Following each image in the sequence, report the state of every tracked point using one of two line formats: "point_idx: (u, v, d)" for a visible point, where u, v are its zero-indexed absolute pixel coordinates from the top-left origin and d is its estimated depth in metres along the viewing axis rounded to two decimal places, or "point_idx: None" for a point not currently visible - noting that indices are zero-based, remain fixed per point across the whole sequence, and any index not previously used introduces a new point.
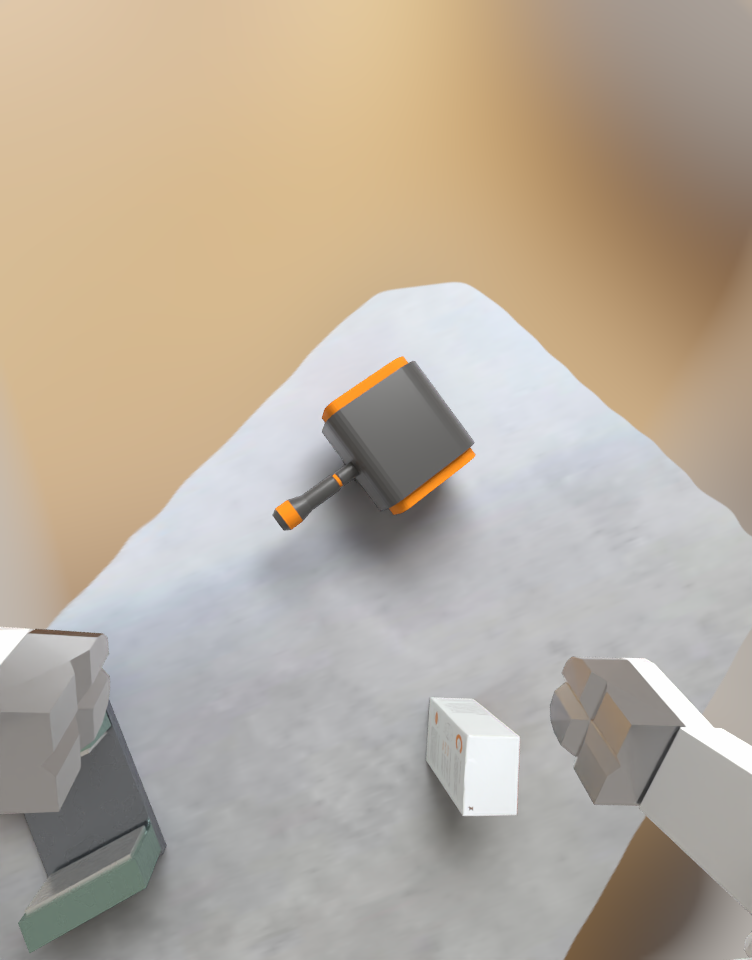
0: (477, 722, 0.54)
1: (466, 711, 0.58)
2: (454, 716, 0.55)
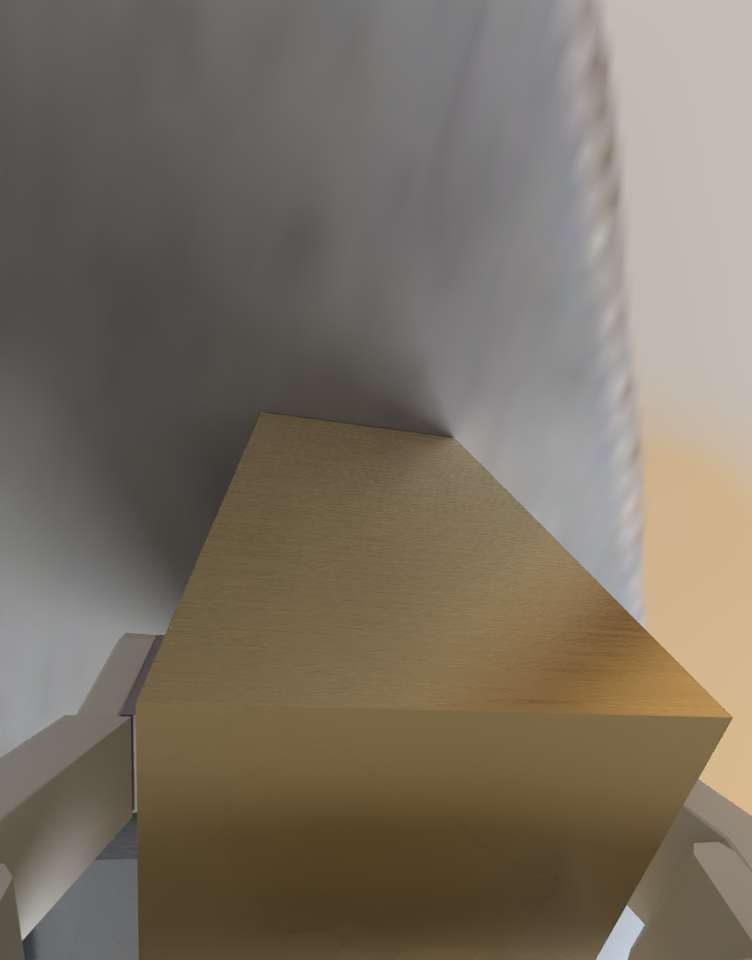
0: None
1: None
2: None
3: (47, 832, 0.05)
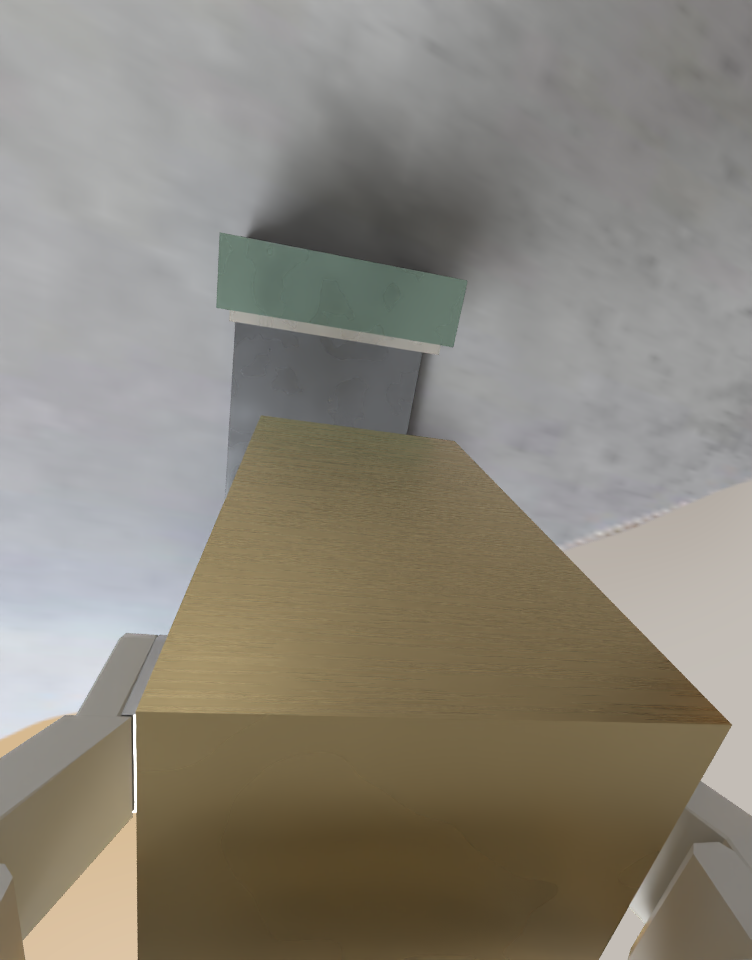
0: None
1: None
2: None
3: (47, 832, 0.05)
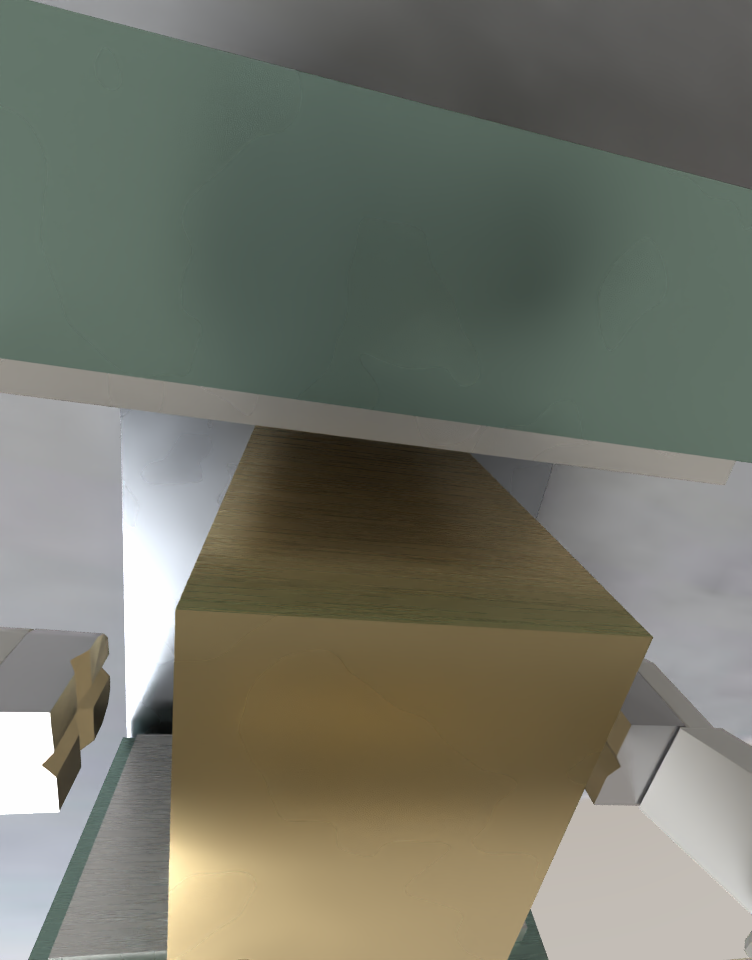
0: None
1: None
2: None
3: None
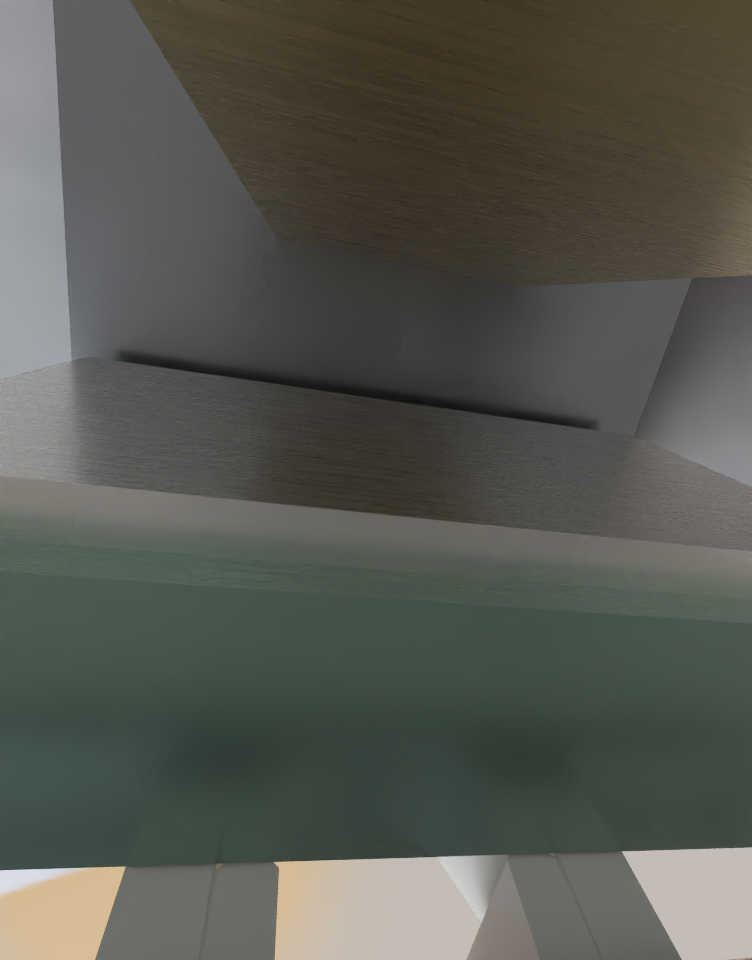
0: None
1: None
2: None
3: None
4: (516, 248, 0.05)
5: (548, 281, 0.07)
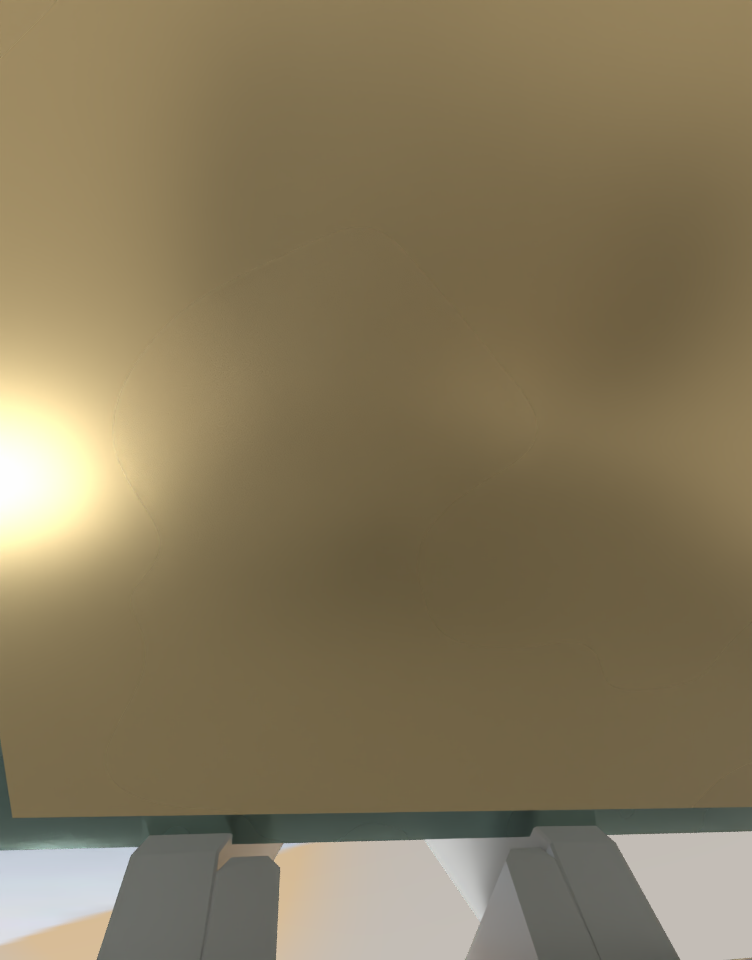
0: None
1: None
2: None
3: None
4: None
5: None
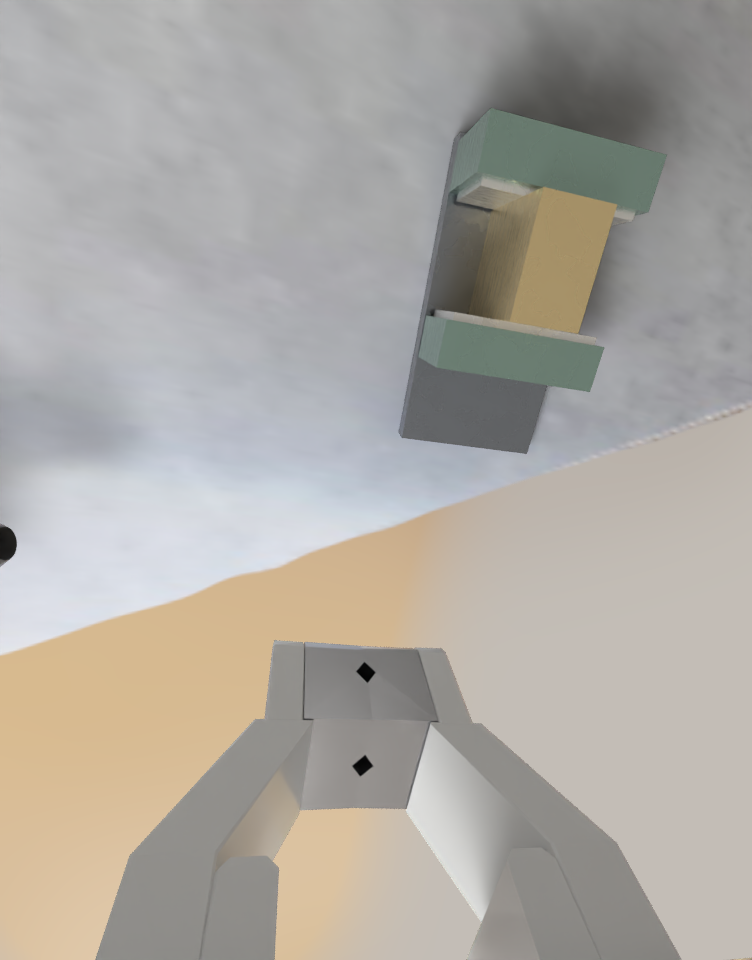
0: None
1: None
2: None
3: (261, 828, 0.05)
4: None
5: None
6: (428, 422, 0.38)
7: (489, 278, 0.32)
